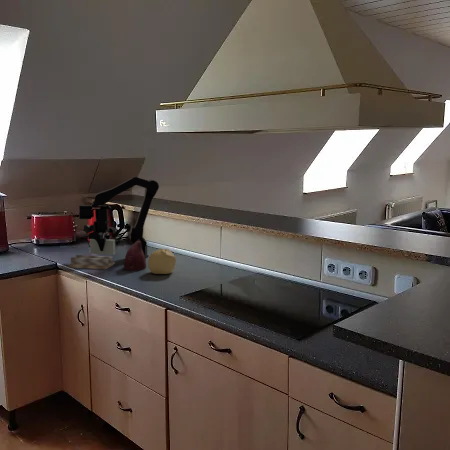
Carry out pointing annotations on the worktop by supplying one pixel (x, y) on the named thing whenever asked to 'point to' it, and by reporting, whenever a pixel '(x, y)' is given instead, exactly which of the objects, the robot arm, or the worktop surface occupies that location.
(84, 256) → the track
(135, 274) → the worktop surface
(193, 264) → the worktop surface
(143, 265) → the vegetable
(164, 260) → the yellow rounded lump
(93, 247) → the rectangular block
